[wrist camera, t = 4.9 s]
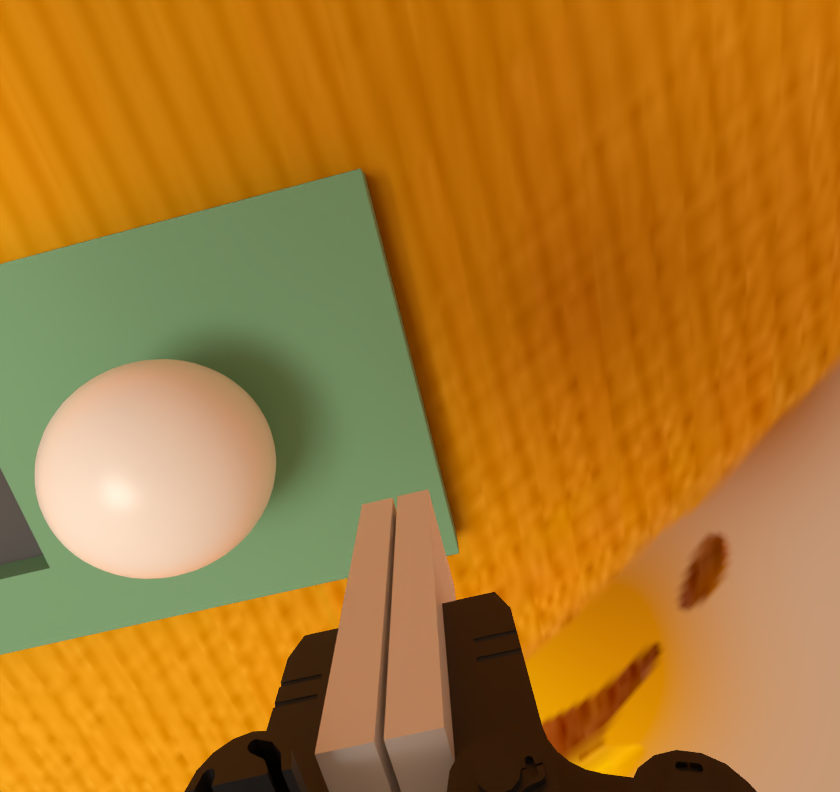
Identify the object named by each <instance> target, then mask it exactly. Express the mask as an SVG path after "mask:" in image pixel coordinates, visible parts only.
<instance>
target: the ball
mask: <svg viewBox="0 0 840 792" xmlns="http://www.w3.org/2000/svg"><path fill="white" fill-rule="evenodd" d="M275 473H276V452H275V445H274V441H273V437H272V433H271V430H270V427H269V425H268V423H267V420H266V418H265V416H264V415H263V413H262V411H261V409H260V408H259V406H258V405H257V404H256V403H255V401H254V400H253V399H252V397H251V396H250V395H249V394H248V393H247V392H246V391H245V390H244V389H243V388H241V387H240V386H239V385H238V384H236V383H235V382H234V381H233V380H231V379H229V378H228V377H226V376H225V375H223V374H221V373H219V372H217V371H215V370H213V369H211V368H208V367H205V366H202V365H199V364H196V363H192V362H187V361H182V360H172V359H155V360H143V361H137V362H132V363H128V364H125V365H122V366H119V367H116V368H112V369H110V370H108V371H106V372H104V373H102V374H100V375H98V376H96V377H94V378H92V379H91V380H89V381H88V382H86V383H85V384H83V385H82V386H81V387H79V388H78V389H77V390H76V391H75V392H74V393H73V394H72V395H71V396H69V397H68V398H67V399H66V400H65V401H64V402H63V403H62V405H61V406H60V407H59V408H58V410H57V411H56V412H55V414H54V415H53V417H52V418H51V420H50V421H49V423H48V425H47V427H46V429H45V431H44V433H43V436H42V439H41V441H40V444H39V447H38V450H37V455H36V460H35V489H36V496H37V500H38V503H39V507H40V509H41V511H42V514H43V516H44V518H45V520H46V522H47V524H48V525H49V527H50V529H51V530H52V532H53V533H54V535H55V536H56V537H57V539H58V540H59V541H60V542H61V543H62V544H63V545H64V546H65V547H66V548H67V549H68V550H69V551H70V552H72V553H73V554H74V555H75V556H77V557H78V558H80V559H81V560H83V561H84V562H86V563H88V564H90V565H92V566H94V567H96V568H98V569H101V570H103V571H106V572H109V573H112V574H116V575H119V576H124V577H129V578H140V579H154V578H167V577H173V576H178V575H181V574H185V573H188V572H192V571H195V570H198V569H200V568H202V567H205V566H207V565H209V564H211V563H212V562H214V561H216V560H218V559H219V558H221V557H223V556H224V555H226V554H227V553H228V552H230V551H231V550H232V549H233V548H235V547H236V546H237V545H238V544H239V543H240V542H241V541H242V540H243V539H244V538H245V537H246V536H247V535H248V534H249V533H250V532H251V530H252V529H253V528H254V526H255V525H256V523H257V522H258V520H259V519H260V517H261V516H262V514H263V512H264V510H265V508H266V506H267V504H268V501H269V499H270V496H271V493H272V490H273V486H274V480H275Z"/></svg>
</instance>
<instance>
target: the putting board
mask: <svg viewBox="0 0 840 792" xmlns="http://www.w3.org/2000/svg"><path fill="white" fill-rule="evenodd" d="M155 359H172V360H182V361H187V362H192V363H196V364H199V365H202V366H205V367H208V368H211V369H213V370H215V371H217V372H219V373H221V374H223V375H225V376H226V377H228V378H229V379H231V380H233V381H234V382H235V383H236V384H238V385H239V386H240V387H241V388H243V389H244V390H245V391H246V392H247V393H248V394H249V395H250V396H251V397H252V399H253V400H254V401H255V403H256V404H257V405H258V406H259V408H260V409H261V411H262V413H263V415H264V416H265V418H266V420H267V423H268V425H269V427H270V430H271V433H272V437H273V441H274V445H275V452H276V473H275V480H274V486H273V490H272V493H271V496H270V499H269V501H268V504H267V506H266V508H265V510H264V512H263V514H262V516H261V517H260V519H259V520H258V522H257V523H256V525H255V526H254V528H253V529H252V530H251V532H250V533H249V534H248V535H247V536H246V537H245V538H244V539H243V540H242V541H241V542H240V543H239V544H238V545H237V546H236V547H235V548H233V549H232V550H231V551H230V552H228V553H227V554H226V555H224V556H223V557H221V558H219V559H218V560H216V561H214V562H212V563H211V564H209V565H207V566H205V567H202V568H200V569H198V570H195V571H192V572H188V573H185V574H181V575H178V576H173V577H167V578H154V579H140V578H129V577H124V576H119V575H116V574H112V573H109V572H106V571H103V570H101V569H98V568H96V567H94V566H92V565H90V564H88V563H86V562H84V561H83V560H81V559H80V558H78V557H77V556H75V555H74V554H73V553H72V552H70V551H69V550H68V549H67V548H66V547H65V546H64V545H63V544H62V543H61V542H60V541H59V540H58V539H57V537H56V536H55V535H54V533H53V532H52V530H51V529H50V527H49V525H48V524H47V522H46V520H45V518H44V516H43V514H42V511H41V509H40V507H39V503H38V500H37V496H36V489H35V460H36V455H37V450H38V447H39V444H40V441H41V439H42V436H43V433H44V431H45V429H46V427H47V425H48V423H49V421H50V420H51V418H52V417H53V415H54V414H55V412H56V411H57V410H58V408H59V407H60V406H61V405H62V403H63V402H64V401H65V400H66V399H67V398H68V397H69V396H71V395H72V394H73V393H74V392H75V391H76V390H77V389H78V388H79V387H81V386H82V385H83V384H85V383H86V382H88V381H89V380H91V379H92V378H94V377H96V376H98V375H100V374H102V373H104V372H106V371H108V370H110V369H112V368H116V367H119V366H122V365H125V364H128V363H132V362H137V361H143V360H155ZM427 489H428V490H429V494H430V497H431V501H432V505H433V509H434V512H435V516H436V520H437V524H438V527H439V531H440V535H441V539H442V542H443V546H444V550H445V554H446V556H449V555H453V554H458V553H459V549H458V542H457V534H456V529H455V525H454V521H453V518H452V514H451V510H450V506H449V502H448V498H447V494H446V490H445V486H444V482H443V478H442V474H441V470H440V467H439V463H438V459H437V455H436V451H435V447H434V443H433V439H432V435H431V431H430V427H429V423H428V419H427V416H426V412H425V408H424V404H423V400H422V396H421V392H420V388H419V384H418V380H417V376H416V372H415V368H414V365H413V361H412V357H411V353H410V349H409V345H408V341H407V337H406V333H405V329H404V325H403V321H402V317H401V314H400V310H399V306H398V302H397V298H396V294H395V290H394V286H393V282H392V278H391V274H390V270H389V266H388V263H387V259H386V255H385V251H384V247H383V243H382V239H381V235H380V231H379V227H378V223H377V219H376V215H375V211H374V208H373V204H372V200H371V196H370V192H369V188H368V184H367V180H366V176H365V174H364V173H363V171H362V170H361V169H357V170H353V171H350V172H346V173H342V174H338V175H335V176H331V177H327V178H323V179H319V180H316V181H312V182H308V183H304V184H301V185H297V186H293V187H289V188H286V189H282V190H278V191H274V192H270V193H267V194H263V195H259V196H255V197H252V198H248V199H244V200H240V201H237V202H233V203H229V204H225V205H221V206H218V207H214V208H210V209H206V210H203V211H199V212H195V213H191V214H188V215H184V216H180V217H176V218H172V219H169V220H165V221H161V222H157V223H154V224H150V225H146V226H142V227H139V228H135V229H131V230H127V231H123V232H120V233H116V234H112V235H108V236H105V237H101V238H97V239H93V240H90V241H86V242H82V243H78V244H74V245H71V246H67V247H63V248H59V249H56V250H52V251H48V252H44V253H41V254H37V255H33V256H29V257H25V258H22V259H18V260H14V261H10V262H7V263H3V264H0V655H1V654H5V653H10V652H14V651H19V650H23V649H28V648H33V647H37V646H42V645H46V644H51V643H55V642H60V641H64V640H69V639H73V638H78V637H82V636H87V635H91V634H96V633H100V632H105V631H109V630H114V629H118V628H123V627H128V626H132V625H137V624H141V623H146V622H150V621H155V620H159V619H164V618H168V617H173V616H177V615H182V614H186V613H191V612H195V611H200V610H204V609H209V608H214V607H218V606H223V605H227V604H232V603H236V602H241V601H245V600H250V599H254V598H259V597H263V596H268V595H272V594H277V593H281V592H286V591H290V590H295V589H299V588H304V587H309V586H313V585H318V584H322V583H327V582H331V581H336V580H340V579H345V578H348V576H349V571H350V565H351V560H352V555H353V550H354V544H355V539H356V534H357V529H358V523H359V518H360V513H361V508H362V505H363V504H367V503H371V502H375V501H380V500H384V499H388V498H393V501H394V504H395V508H396V511H397V498H398V496H401V495H406V494H410V493H414V492H419V491H423V490H427Z"/></svg>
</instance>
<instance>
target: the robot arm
mask: <svg viewBox="0 0 840 792" xmlns="http://www.w3.org/2000/svg"><path fill="white" fill-rule="evenodd" d="M185 792H756V790H755V789H754V788H753V787H752V786H751V785H750V784H749V783H748V782H747V781H746V780H745V779H743V778H742V777H741V776H740V775H739V774H737V773H736V772H735V771H734V770H732V769H731V768H730V767H729V766H728V765H726V764H725V763H722V762H720V761H718V760H716V759H713V758H711V757H709V756H706V755H704V754H702V753H695V752H688V751H679V750H675V751H670V752H666V753H662V754H658V755H654V756H653V757H652V758H650V759H649V760H648V761H646V762H645V763H644V764H642V765H641V766H640V767H639V768H638V769H637V771H636V774H635V776H634V778H631V777H623V776H616V775H608V774H602V773H598V772H593V771H589V770H585V769H583V768H581V767H579V766H577V765H575V764H573V763H571V762H569V761H568V760H567V759H566V758H564V757H563V756H562V755H561V754H559V753H558V752H557V751H556V750H555V748H554V747H553V746H552V744H551V743H550V742H549V741H548V739H547V737H546V735H545V732H544V730H543V727H542V724H541V721H540V717H539V713H538V709H537V706H536V702H535V698H534V695H533V691H532V687H531V684H530V680H529V676H528V672H527V668H526V665H525V661H524V657H523V653H522V650H521V646H520V642H519V639H518V635H517V631H516V627H515V624H514V620H513V616H512V612H511V609H510V607H509V606H508V605H507V604H506V603H505V602H504V601H503V600H502V599H501V598H500V597H499V596H498V595H497V594H496V593H495V592H492V593H487V594H483V595H478V596H474V597H469V598H464V599H460V600H456V598H455V590H454V584H453V580H452V576H451V572H450V569H449V565H448V561H447V557H446V554H445V550H444V546H443V542H442V539H441V535H440V531H439V527H438V524H437V520H436V516H435V512H434V509H433V505H432V501H431V497H430V494H429V490H428V489H427V490H423V491H419V492H414V493H410V494H406V495H401V496H398V498H397V511H396V508H395V504H394V501H393V498H388V499H384V500H380V501H375V502H371V503H367V504H363V505H362V508H361V513H360V518H359V523H358V529H357V534H356V539H355V544H354V550H353V555H352V560H351V565H350V571H349V576H348V581H347V586H346V592H345V597H344V602H343V607H342V613H341V618H340V623H339V628H337V629H333V630H328V631H324V632H319V633H315V634H310V635H305V636H304V637H303V639H302V640H301V641H300V643H299V644H298V645H297V647H296V648H295V650H294V651H293V652H292V654H291V655H290V656H289V658H288V660H287V664H286V667H285V670H284V674H283V677H282V680H281V687H279V690H278V694H277V697H276V701H275V708H273V711H272V714H271V717H270V721H269V724H268V727H267V731H256V732H251V733H248V734H245V735H243V736H240V737H237V738H235V739H233V740H231V741H230V742H228V743H227V744H225V745H224V746H222V747H221V748H220V749H218V750H217V751H215V752H214V753H213V754H212V755H211V756H210V757H209V758H208V759H207V760H206V761H205V762H204V763H203V764H202V766H201V767H200V768H199V769H198V770H197V771H196V773H195V774H194V776H193V778H192V780H191V781H190V783H189V785H188V787H187V788H186V790H185Z"/></svg>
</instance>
